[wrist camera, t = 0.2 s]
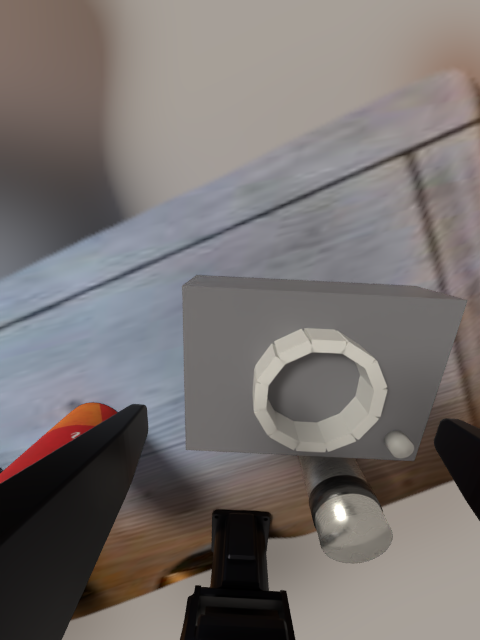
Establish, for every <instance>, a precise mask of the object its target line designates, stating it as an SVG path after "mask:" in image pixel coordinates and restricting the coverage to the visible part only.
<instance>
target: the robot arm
mask: <svg viewBox="0 0 480 640" xmlns="http://www.w3.org/2000/svg"><path fill="white" fill-rule="evenodd" d="M147 434H148V417H147V408H146V406H145V405H141V404H132V405H130V406H128V407H126V408H125V409H123V410H121V411H120V412H118V413H116V414H115V415H113V416H111V417H110V418H108V419H106V420H105V421H103V422H101V423H100V424H98V425H96V426H95V427H93V428H91V429H90V430H88V431H86V432H85V433H83V434H81V435H80V436H78V437H77V438H75V439H73V440H72V441H70V442H68V443H67V444H65V445H63V446H62V447H60V448H58V449H57V450H55V451H53V452H52V453H50V454H48V455H47V456H45V457H43V458H42V459H40V460H38V461H37V462H35V463H33V464H32V465H30V466H28V467H27V468H25V469H23V470H22V471H20V472H18V473H17V474H15V475H13V476H12V477H10V478H8V479H7V480H5V481H3V482H2V483H0V640H62V638H63V635H64V633H65V631H66V629H67V627H68V624H69V622H70V620H71V618H72V615H73V613H74V611H75V609H76V607H77V604H78V602H79V600H80V598H81V595H82V593H83V591H84V589H85V586H86V584H87V582H88V580H89V578H90V575H91V573H92V571H93V569H94V566H95V564H96V562H97V560H98V557H99V555H100V553H101V551H102V548H103V546H104V544H105V542H106V540H107V537H108V535H109V533H110V531H111V528H112V526H113V524H114V522H115V519H116V517H117V515H118V513H119V510H120V508H121V506H122V504H123V502H124V499H125V497H126V495H127V492H128V490H129V488H130V485H131V482H132V479H133V476H134V473H135V470H136V467H137V464H138V461H139V458H140V455H141V452H142V449H143V446H144V443H145V440H146V437H147ZM434 446H435V448H436V450H437V452H438V454H439V456H440V457H441V459H442V461H443V462H444V464H445V466H446V467H447V469H448V471H449V473H450V474H451V476H452V478H453V479H454V481H455V483H456V484H457V486H458V488H459V490H460V491H461V493H462V495H463V496H464V498H465V500H466V501H467V503H468V504H469V506H470V507H471V509H472V510H473V512H474V513H475V515H476V516H477V518H478V519H479V521H480V429H479V428H477V427H475V426H472V425H470V424H468V423H466V422H464V421H461V420H459V419H443V420H441V421H440V424H439V427H438V430H437V433H436V436H435V439H434ZM269 526H270V515H269V513H264V512H244V511H223V510H215V511H213V514H212V552H214V553H213V564H212V575H211V585H210V587H209V588H208V587H201V586H199V585H196V586H195V591H194V594H193V595H191V596H189V597H188V600H187V606H186V613H185V619H184V624H183V629H182V633H181V638H180V640H295V636H294V630H293V625H292V619H291V614H290V609H289V603H288V598H287V593H286V591H284V590H281V591H280V592H277V591H269V588H268V573H267V560H266V551H267V542H268V534H269Z"/></svg>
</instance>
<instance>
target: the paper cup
mask: <svg viewBox="0 0 480 640" xmlns="http://www.w3.org/2000/svg"><path fill="white" fill-rule="evenodd" d="M116 413H117V412H116V411H115V410H114V409H112V408H111V407H109V406H107V405H104V404H101V403H85V404H82V405H80V406H78V407H77V408H75V409H74V410H73V411H72V412H70V413H69V414H68V415H67V416H66V417H64V418H63V419H62V420H61V421H60V422H59V423H57V424H56V425H55V426H54V427H53V428H52V429H51V430H49V431H48V432H47V433H46V434H45V435H44V436H42V437H41V438H40V439H39V440H38V441H37V442H36V443H35V444H33V445H32V446H31V447H30V448H29V449H28V450H27V451H25V452H24V453H23V454H22V455H21V456H20V457H19V458H17V459H16V460H15V461H14V462H13V463H12V464H11V465H9V466H8V467H7V468H6V469H5V470H4V471H3V472H2V473H0V483H2V482H3V481H5V480H7V479H8V478H10V477H12V476H13V475H15V474H17V473H18V472H20V471H22V470H23V469H25V468H27V467H28V466H30V465H32V464H33V463H35V462H37V461H38V460H40V459H42V458H43V457H45V456H47V455H48V454H50V453H52V452H53V451H55V450H57V449H58V448H60V447H62V446H63V445H65V444H67V443H68V442H70V441H72V440H73V439H75V438H77V437H78V436H80V435H81V434H83V433H85V432H86V431H88V430H90V429H91V428H93V427H95V426H96V425H98V424H100V423H101V422H103V421H105V420H106V419H108V418H110V417H111V416H113V415H115V414H116Z"/></svg>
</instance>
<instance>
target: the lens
mask: <svg viewBox="0 0 480 640" xmlns="http://www.w3.org/2000/svg"><path fill="white" fill-rule="evenodd" d="M298 458H299V461H300V465H301V469H302V473H303V477H304V481H305V485H306V489H307V493H308V497H309V506H310V510H311V514H312V518H313V522H314V526H315V528H316V530H317V533H318V537H319V540H320V545H321V548H322V549H323V552H325V554H326V555H327V556H328V557H330V558H332V559H334V560H336V561H339V562H343V563H362V562H366V561H369V560H372V559H374V558H376V557H378V556H380V555H381V554H383V553H384V552H385V551H386V550H387V549H388V547H389V546H390V544H391V542H392V537H393V534H392V530H391V528H390V526H389V524H388V522H387V520H386V518H385V516H384V514H383V510H382V507H381V505H380V503H379V502H378V500H377V498H376V496H375V494H374V492H373V490H372V488H371V486H370V485H369V484H368V483H367V481H366V479H365V477H364V475H363V473H362V471H361V469H360V467H359V465H358V463H357V461H356V459H355V458H342V457H321V456H301V455H298Z"/></svg>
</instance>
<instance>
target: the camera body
mask: <svg viewBox="0 0 480 640" xmlns="http://www.w3.org/2000/svg"><path fill="white" fill-rule="evenodd" d="M182 296H183V341H184V387H185V432H186V450H199V451H219V452H240V453H260V454H281V455H301V456H321V457H342V458H362V459H383V460H403V461H414V460H415V457H416V454H417V451H418V448H419V445H420V442H421V439H422V436H423V433H424V430H425V427H426V424H427V421H428V418H429V415H430V412H431V409H432V406H433V403H434V400H435V397H436V394H437V391H438V388H439V385H440V382H441V379H442V376H443V373H444V370H445V367H446V364H447V361H448V358H449V355H450V352H451V349H452V346H453V343H454V340H455V337H456V334H457V331H458V328H459V325H460V322H461V319H462V315H463V312H464V309H465V306H466V303H467V300H466V299H462V298H458V297H454V296H451V295H447V294H443V293H440V292H436V291H432V290H429V289H425V288H421V287H417V286H404V285H384V284H364V283H344V282H324V281H305V280H285V279H265V278H245V277H225V276H205V275H196V276H195V277H193V278H192V279H191V280H189V281H188V282H187V283H185V284H184V285H183V286H182Z"/></svg>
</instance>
